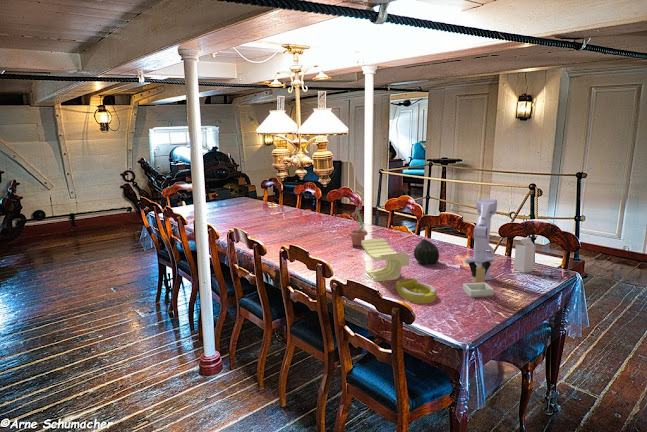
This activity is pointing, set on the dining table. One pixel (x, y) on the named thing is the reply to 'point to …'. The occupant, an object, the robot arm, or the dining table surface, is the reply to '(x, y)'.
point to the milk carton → (524, 255)
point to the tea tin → (479, 274)
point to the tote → (478, 290)
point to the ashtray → (415, 291)
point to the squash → (426, 252)
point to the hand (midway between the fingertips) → (478, 276)
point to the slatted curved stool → (383, 251)
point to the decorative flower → (358, 234)
